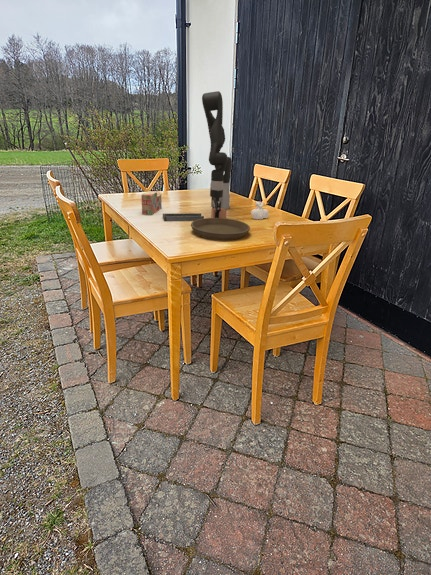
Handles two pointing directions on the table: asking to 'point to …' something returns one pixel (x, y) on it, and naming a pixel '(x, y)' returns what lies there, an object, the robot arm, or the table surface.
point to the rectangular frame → (182, 216)
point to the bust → (259, 211)
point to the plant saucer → (220, 228)
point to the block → (221, 214)
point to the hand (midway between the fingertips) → (215, 216)
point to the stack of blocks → (151, 203)
